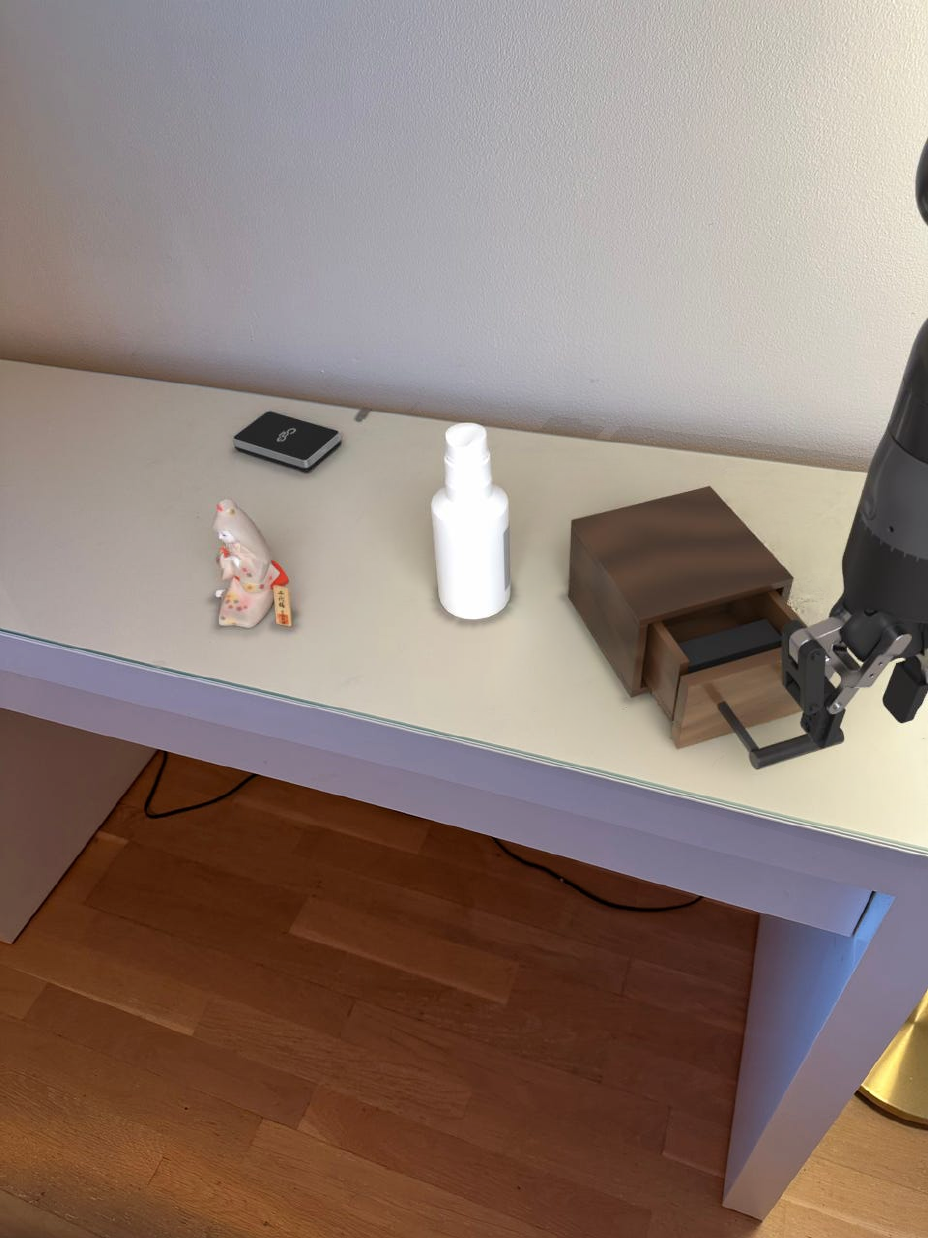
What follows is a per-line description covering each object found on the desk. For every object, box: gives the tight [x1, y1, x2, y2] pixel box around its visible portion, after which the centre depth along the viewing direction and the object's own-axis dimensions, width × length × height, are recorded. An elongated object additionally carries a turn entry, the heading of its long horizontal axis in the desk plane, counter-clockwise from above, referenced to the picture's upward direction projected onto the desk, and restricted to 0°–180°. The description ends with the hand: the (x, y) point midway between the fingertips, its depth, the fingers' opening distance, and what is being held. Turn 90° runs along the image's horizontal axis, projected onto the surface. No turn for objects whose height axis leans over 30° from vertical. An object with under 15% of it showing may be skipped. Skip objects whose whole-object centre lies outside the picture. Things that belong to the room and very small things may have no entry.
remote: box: [678, 619, 782, 674], centre depth 75 cm, size 8×4×3 cm
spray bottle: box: [430, 422, 512, 620], centre depth 82 cm, size 7×7×18 cm
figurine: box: [212, 497, 293, 629], centre depth 85 cm, size 9×7×12 cm
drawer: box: [642, 589, 845, 771], centre depth 74 cm, size 19×12×7 cm, turn 18°
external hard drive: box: [232, 410, 342, 473], centre depth 107 cm, size 7×11×2 cm, turn 60°
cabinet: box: [567, 485, 795, 698], centre depth 81 cm, size 14×14×9 cm
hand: (857, 724), depth 59 cm, fingers open, 5 cm apart
